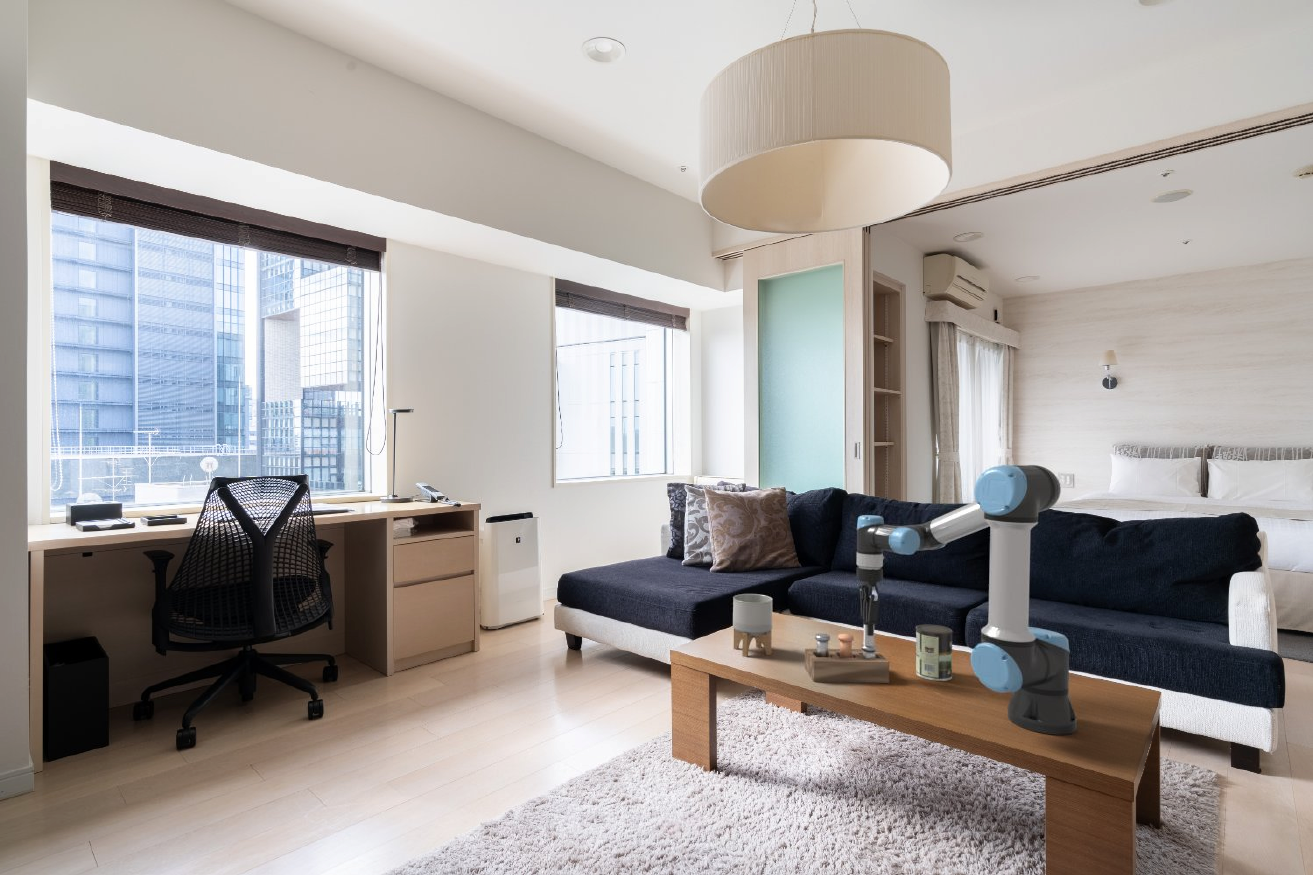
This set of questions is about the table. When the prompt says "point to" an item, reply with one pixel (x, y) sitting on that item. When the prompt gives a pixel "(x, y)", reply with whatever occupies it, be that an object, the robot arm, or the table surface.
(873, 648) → the grey plug
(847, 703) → the table surface
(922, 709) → the table surface
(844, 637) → the terracotta plug
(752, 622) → the planter
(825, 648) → the grey plug
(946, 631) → the coffee can
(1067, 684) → the robot arm
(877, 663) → the wooden slotted block
